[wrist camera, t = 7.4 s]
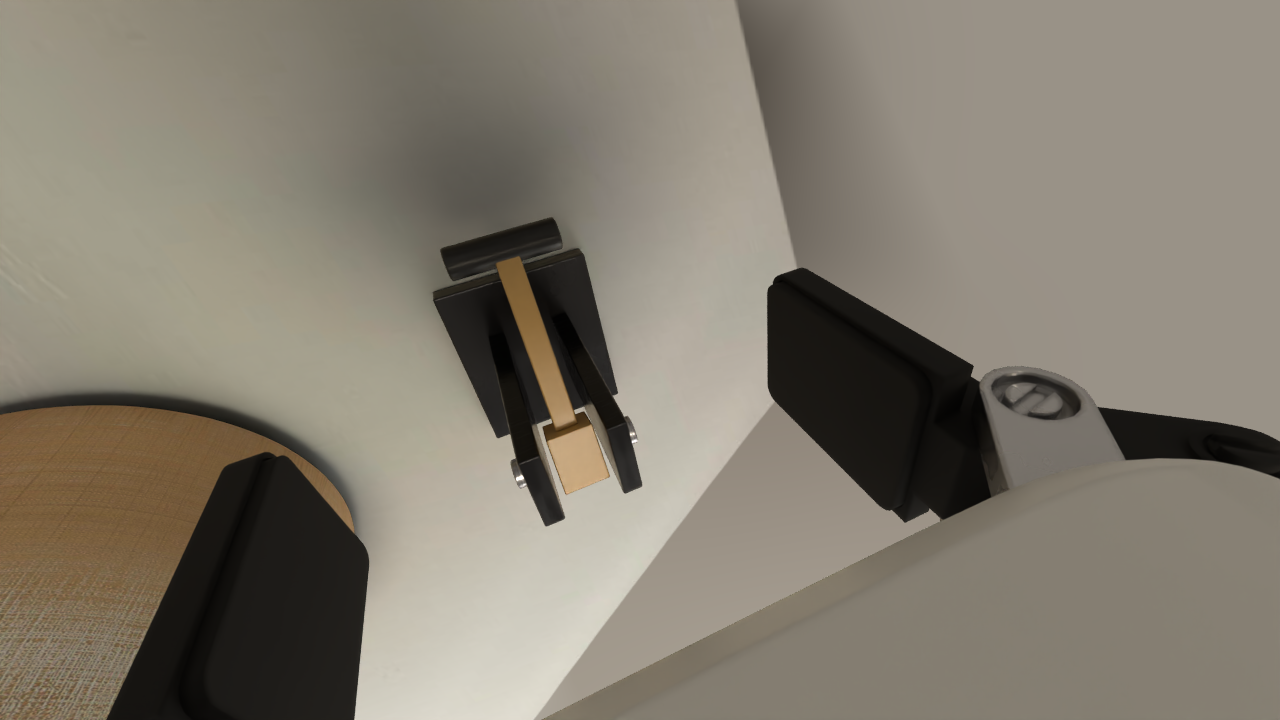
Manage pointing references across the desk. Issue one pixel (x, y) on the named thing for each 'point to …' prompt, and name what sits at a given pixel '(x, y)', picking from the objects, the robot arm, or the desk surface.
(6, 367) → the desk surface
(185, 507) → the planter
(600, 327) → the switch bracket
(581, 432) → the switch lever
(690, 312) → the desk surface
